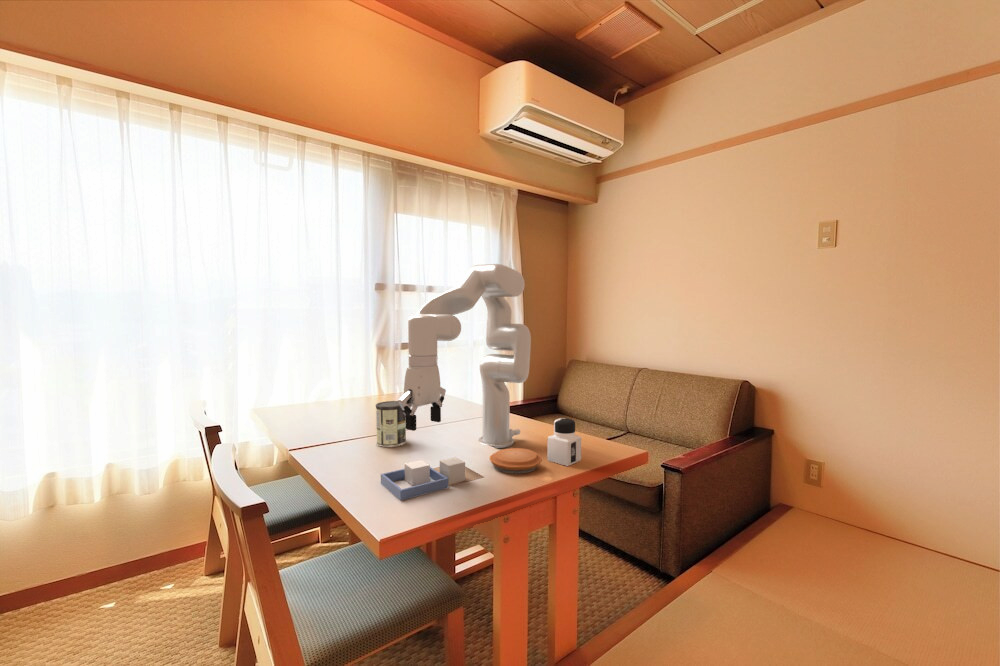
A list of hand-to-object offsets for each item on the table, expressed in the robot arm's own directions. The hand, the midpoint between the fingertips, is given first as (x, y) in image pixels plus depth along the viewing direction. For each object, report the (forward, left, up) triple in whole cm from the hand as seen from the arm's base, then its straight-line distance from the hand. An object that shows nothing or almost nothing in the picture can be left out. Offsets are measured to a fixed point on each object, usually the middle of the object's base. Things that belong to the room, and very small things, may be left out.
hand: (423, 425), depth 114 cm
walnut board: (-9, +1, -16) cm, 18 cm away
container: (-44, +9, -16) cm, 48 cm away
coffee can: (-7, -40, -16) cm, 44 cm away
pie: (-27, +6, -16) cm, 32 cm away
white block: (+2, -1, -16) cm, 16 cm away
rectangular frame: (+4, +2, -16) cm, 16 cm away
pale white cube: (-6, +4, -15) cm, 17 cm away
